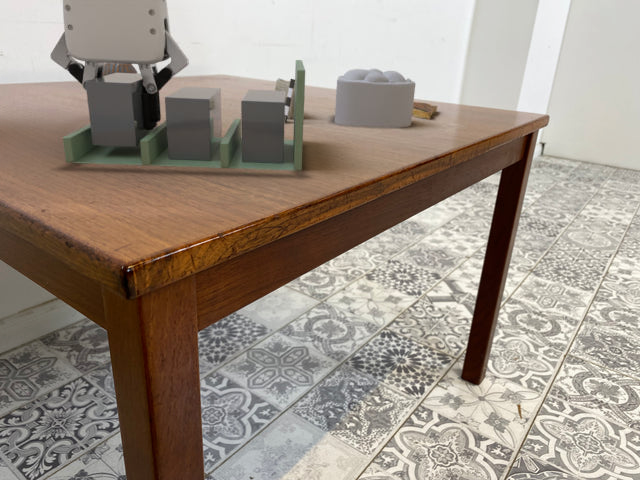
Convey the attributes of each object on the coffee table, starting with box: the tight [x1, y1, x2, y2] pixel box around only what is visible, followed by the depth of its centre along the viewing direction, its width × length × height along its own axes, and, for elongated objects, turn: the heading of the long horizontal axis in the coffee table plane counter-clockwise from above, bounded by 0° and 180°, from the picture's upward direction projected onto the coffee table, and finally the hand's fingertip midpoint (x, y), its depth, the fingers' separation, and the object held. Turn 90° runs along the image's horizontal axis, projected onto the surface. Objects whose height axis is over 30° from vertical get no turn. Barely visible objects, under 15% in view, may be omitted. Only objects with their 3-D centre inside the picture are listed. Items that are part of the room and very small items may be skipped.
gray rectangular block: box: [85, 73, 159, 147], centre depth 58 cm, size 4×10×6 cm, turn 3°
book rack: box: [62, 59, 306, 172], centre depth 59 cm, size 24×15×11 cm, turn 93°
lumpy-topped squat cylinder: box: [334, 68, 416, 129], centre depth 88 cm, size 10×13×9 cm
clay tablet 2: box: [240, 88, 286, 163], centre depth 60 cm, size 4×10×6 cm, turn 3°
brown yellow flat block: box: [412, 101, 438, 120], centre depth 100 cm, size 11×8×2 cm
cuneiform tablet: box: [273, 77, 306, 124], centre depth 89 cm, size 7×4×12 cm
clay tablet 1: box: [164, 86, 223, 161], centre depth 59 cm, size 4×10×6 cm, turn 3°
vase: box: [103, 63, 139, 76], centre depth 94 cm, size 7×7×9 cm
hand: (127, 125), depth 59 cm, fingers closed on gray rectangular block, 4 cm apart
